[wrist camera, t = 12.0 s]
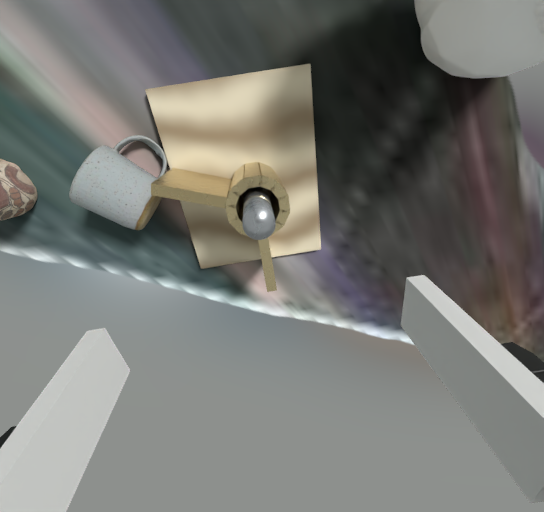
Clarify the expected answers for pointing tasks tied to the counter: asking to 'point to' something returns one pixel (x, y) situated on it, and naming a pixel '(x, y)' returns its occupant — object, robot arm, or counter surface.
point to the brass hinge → (230, 198)
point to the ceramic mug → (117, 185)
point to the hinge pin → (258, 214)
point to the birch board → (244, 153)
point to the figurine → (15, 191)
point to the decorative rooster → (482, 35)
